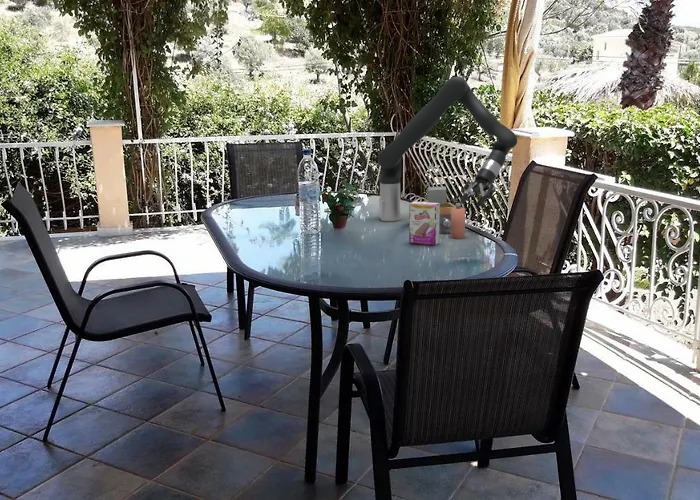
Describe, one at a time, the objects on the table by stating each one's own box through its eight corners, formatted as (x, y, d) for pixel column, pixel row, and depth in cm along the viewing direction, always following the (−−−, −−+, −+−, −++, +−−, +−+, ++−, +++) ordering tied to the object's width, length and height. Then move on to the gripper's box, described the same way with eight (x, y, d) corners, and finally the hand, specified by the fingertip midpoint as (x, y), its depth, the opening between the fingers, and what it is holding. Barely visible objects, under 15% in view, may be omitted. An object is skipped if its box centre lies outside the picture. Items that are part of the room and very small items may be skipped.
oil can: (453, 239, 264) (454, 205, 260) (449, 235, 269) (449, 202, 265) (466, 238, 265) (467, 204, 261) (461, 234, 270) (462, 201, 266)
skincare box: (446, 220, 297) (446, 185, 292) (446, 223, 290) (447, 188, 285) (427, 220, 297) (427, 186, 293) (427, 223, 291) (428, 188, 286)
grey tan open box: (434, 235, 271) (435, 210, 268) (423, 226, 287) (423, 202, 284) (460, 233, 273) (460, 208, 270) (447, 224, 288) (448, 201, 286)
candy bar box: (408, 243, 259) (408, 203, 254) (413, 240, 263) (413, 200, 259) (435, 246, 254) (436, 205, 250) (439, 243, 259) (440, 202, 254)
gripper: (470, 165, 275) (452, 196, 271) (498, 169, 264) (479, 200, 260) (478, 176, 280) (460, 206, 276) (505, 180, 269) (487, 211, 265)
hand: (469, 204), depth 268 cm, fingers open, 8 cm apart
